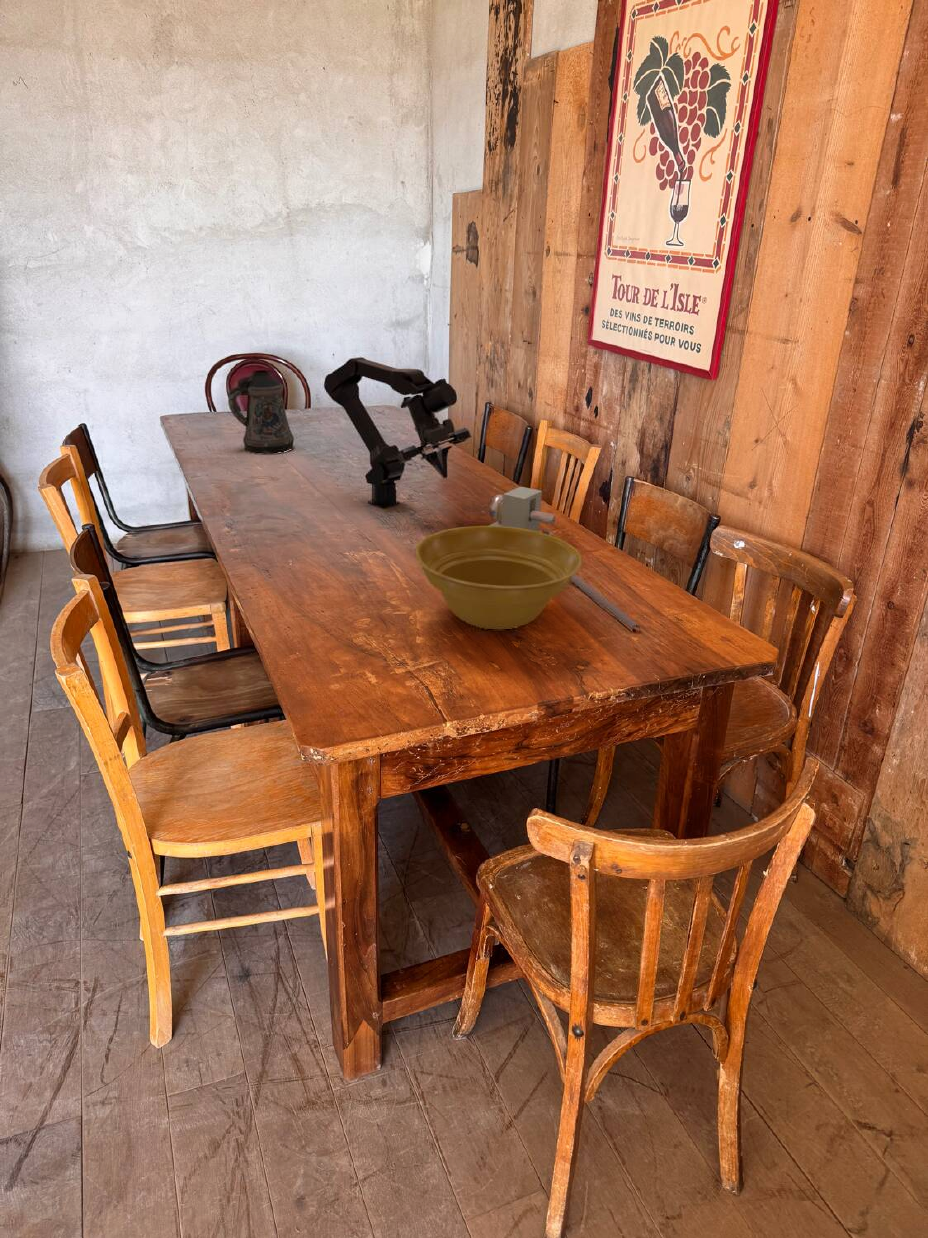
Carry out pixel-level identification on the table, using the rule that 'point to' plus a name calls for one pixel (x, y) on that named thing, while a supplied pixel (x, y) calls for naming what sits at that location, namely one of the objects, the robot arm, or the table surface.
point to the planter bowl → (497, 572)
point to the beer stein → (262, 413)
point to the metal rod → (604, 602)
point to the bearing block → (521, 509)
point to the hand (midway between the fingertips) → (445, 477)
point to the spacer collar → (500, 512)
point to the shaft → (532, 513)
